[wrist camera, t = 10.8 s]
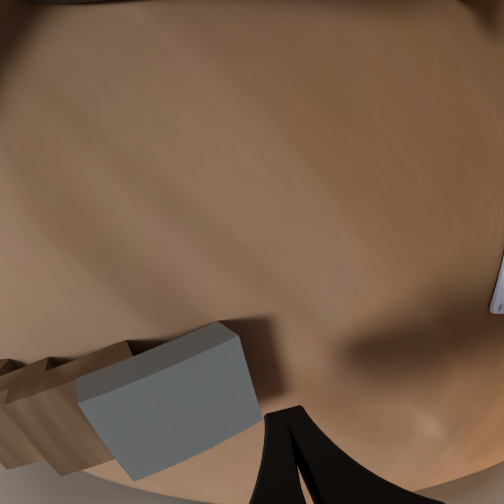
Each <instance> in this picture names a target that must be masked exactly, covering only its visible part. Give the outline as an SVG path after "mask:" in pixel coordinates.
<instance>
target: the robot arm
mask: <svg viewBox="0 0 504 504" xmlns="http://www.w3.org/2000/svg"><path fill="white" fill-rule="evenodd" d="M490 312H491V313H493V314H504V257H503V261H502V265H501V269H500V273H499V277H498V280H497V284H496V288H495V291H494V294H493V298H492V301H491V304H490ZM264 421H265V437H264V447H263V453H262V460H261V465H260V469H259V473H258V477H257V481H256V485H255V488H254V491H253V494H252V497H251V500H250V503H249V504H306V501H305V498H304V495H303V492H302V489H301V484H300V479H299V473H298V468H299V471H300V473H301V475H302V478H303V480H304V482H305V485H306V487H307V489H308V491H309V494H310V496H311V498H312V500H313V503H314V504H445V503H444V502H441V501H437V500H434V499H430V498H427V497H424V496H421V495H418V494H415V493H413V492H410V491H408V490H405V489H403V488H401V487H399V486H397V485H395V484H393V483H391V482H389V481H387V480H385V479H383V478H381V477H379V476H377V475H376V474H374V473H372V472H371V471H369V470H368V469H366V468H365V467H363V466H362V465H360V464H359V463H357V462H356V461H355V460H353V459H352V458H351V457H349V456H348V455H347V454H346V453H345V452H343V451H342V450H341V449H340V448H339V447H338V446H336V445H335V444H334V443H333V442H332V441H331V440H330V439H329V438H328V437H327V436H326V435H325V434H324V433H323V432H322V431H321V430H320V429H319V427H318V426H317V425H316V424H315V423H314V422H313V420H312V419H311V418H310V417H309V415H308V414H307V412H306V411H305V409H304V408H303V406H300V405H298V406H295V407H291V408H287V409H283V410H280V411H276V412H271V413H267V414H266V415H265V416H264ZM297 466H298V468H297Z"/></svg>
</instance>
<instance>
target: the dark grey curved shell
mask: <svg viewBox="0 0 504 504" xmlns="http://www.w3.org/2000/svg"><path fill="white" fill-rule="evenodd" d="M28 1H33V2H40V3H53V4H66V3H83V2H94V1H104V0H28Z"/></svg>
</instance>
